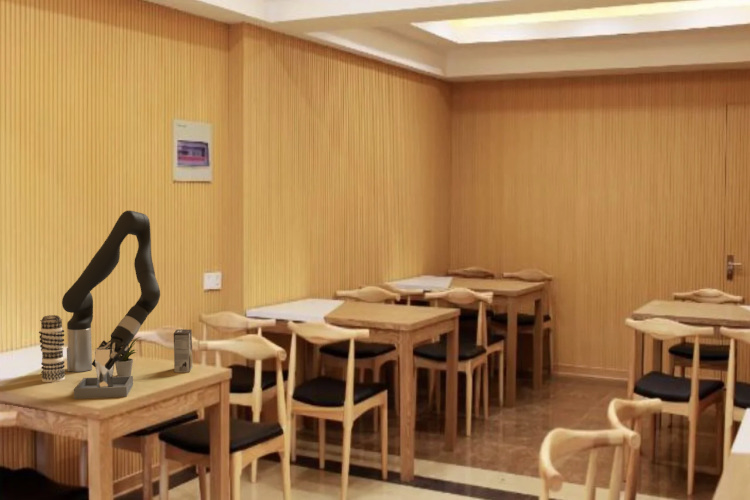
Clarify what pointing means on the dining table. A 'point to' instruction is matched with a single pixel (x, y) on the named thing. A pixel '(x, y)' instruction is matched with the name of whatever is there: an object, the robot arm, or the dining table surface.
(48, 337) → the decorative candle
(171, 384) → the dining table surface
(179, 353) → the coffee box
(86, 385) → the serving tray
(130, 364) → the house plant
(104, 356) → the beer glass
